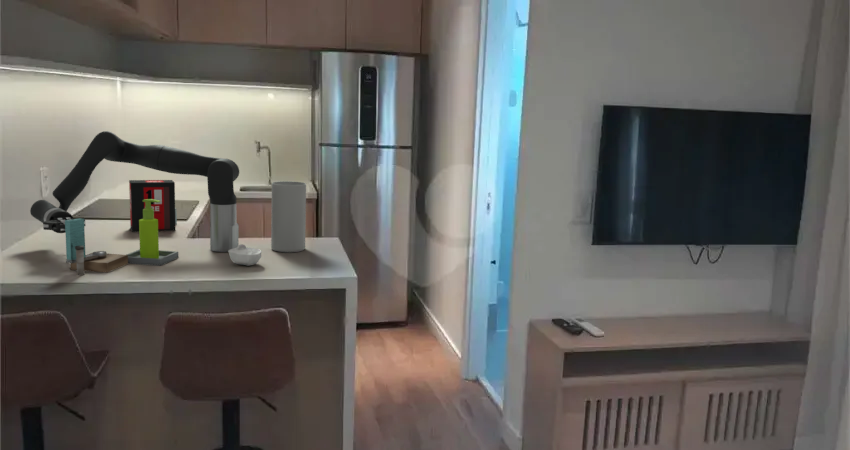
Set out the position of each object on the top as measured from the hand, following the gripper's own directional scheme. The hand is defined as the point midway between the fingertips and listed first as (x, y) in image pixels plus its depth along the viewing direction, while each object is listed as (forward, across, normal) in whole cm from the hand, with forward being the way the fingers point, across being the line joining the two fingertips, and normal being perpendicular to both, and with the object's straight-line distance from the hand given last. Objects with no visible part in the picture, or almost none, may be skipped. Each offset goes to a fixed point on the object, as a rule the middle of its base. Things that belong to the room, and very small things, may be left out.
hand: (71, 228), depth 212 cm
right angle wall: (-67, +51, +13) cm, 85 cm away
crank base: (+6, +5, +13) cm, 15 cm away
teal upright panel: (+6, +3, +9) cm, 11 cm away
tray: (+2, +23, +13) cm, 27 cm away
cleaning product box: (-52, +42, +13) cm, 68 cm away
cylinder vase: (+8, +72, +14) cm, 74 cm away
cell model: (+23, +47, +14) cm, 54 cm away
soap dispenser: (+2, +23, +12) cm, 27 cm away
